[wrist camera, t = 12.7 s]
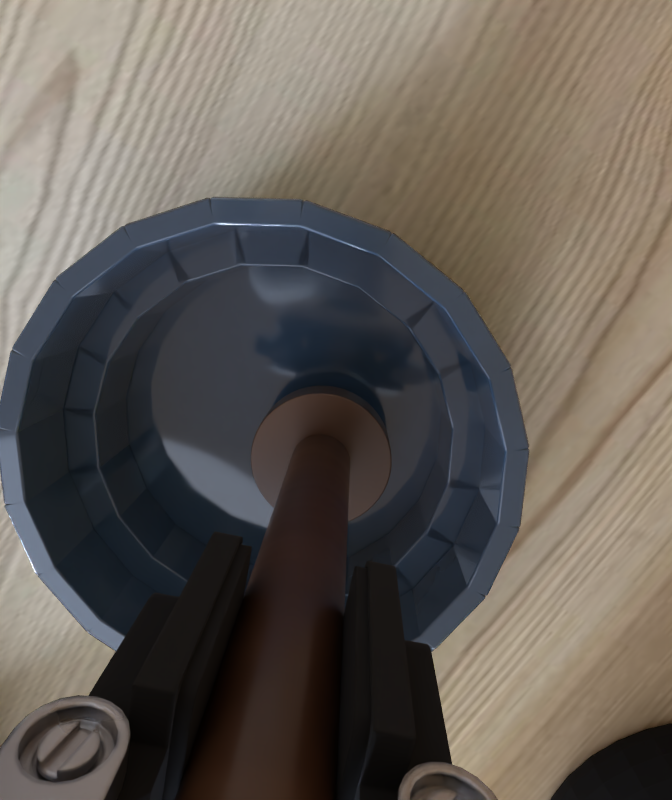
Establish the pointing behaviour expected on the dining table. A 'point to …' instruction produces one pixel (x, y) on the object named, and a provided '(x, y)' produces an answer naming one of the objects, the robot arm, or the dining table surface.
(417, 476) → the bowl
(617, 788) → the lantern
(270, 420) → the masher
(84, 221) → the dining table surface
